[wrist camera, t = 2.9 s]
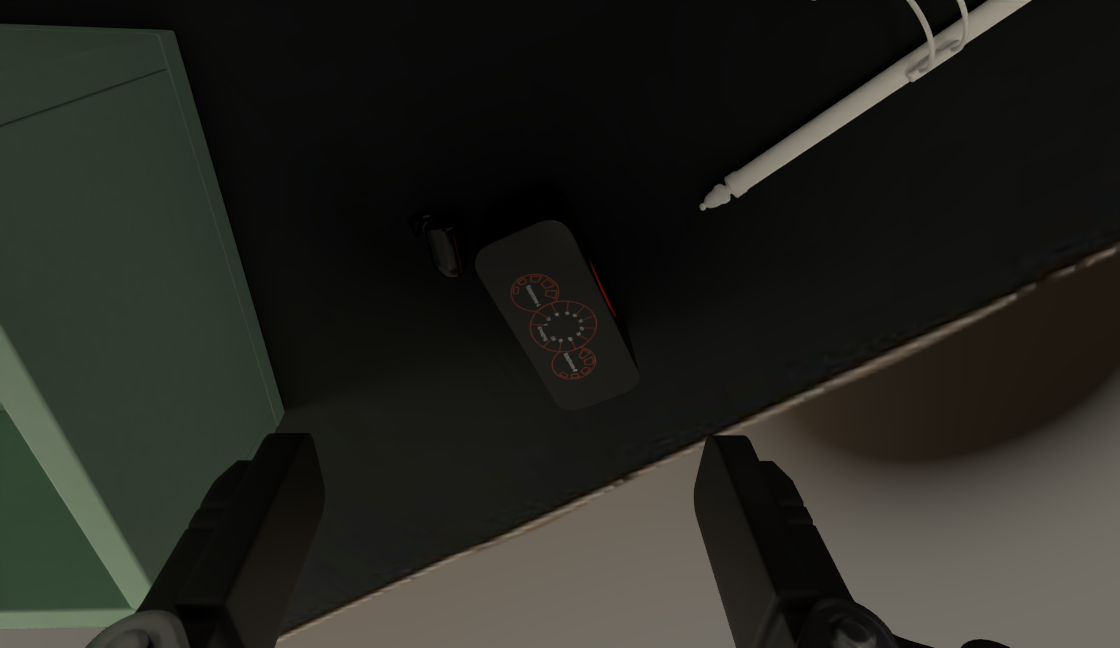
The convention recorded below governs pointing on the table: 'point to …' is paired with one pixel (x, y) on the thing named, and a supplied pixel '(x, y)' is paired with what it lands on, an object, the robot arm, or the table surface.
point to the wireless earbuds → (544, 292)
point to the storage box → (112, 323)
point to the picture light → (867, 94)
